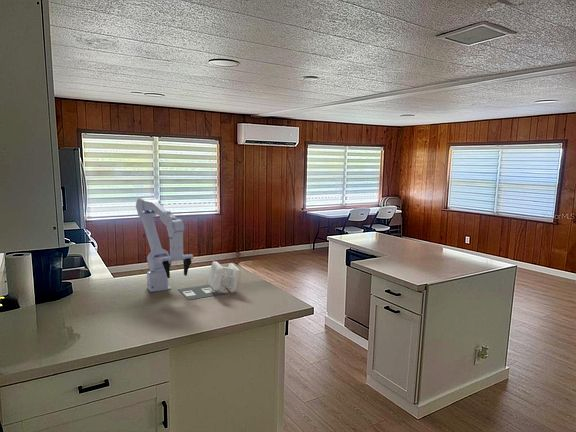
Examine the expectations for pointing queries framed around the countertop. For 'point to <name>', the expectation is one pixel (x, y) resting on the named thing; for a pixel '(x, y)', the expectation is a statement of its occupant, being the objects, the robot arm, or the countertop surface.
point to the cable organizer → (223, 276)
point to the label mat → (199, 292)
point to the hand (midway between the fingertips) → (176, 276)
